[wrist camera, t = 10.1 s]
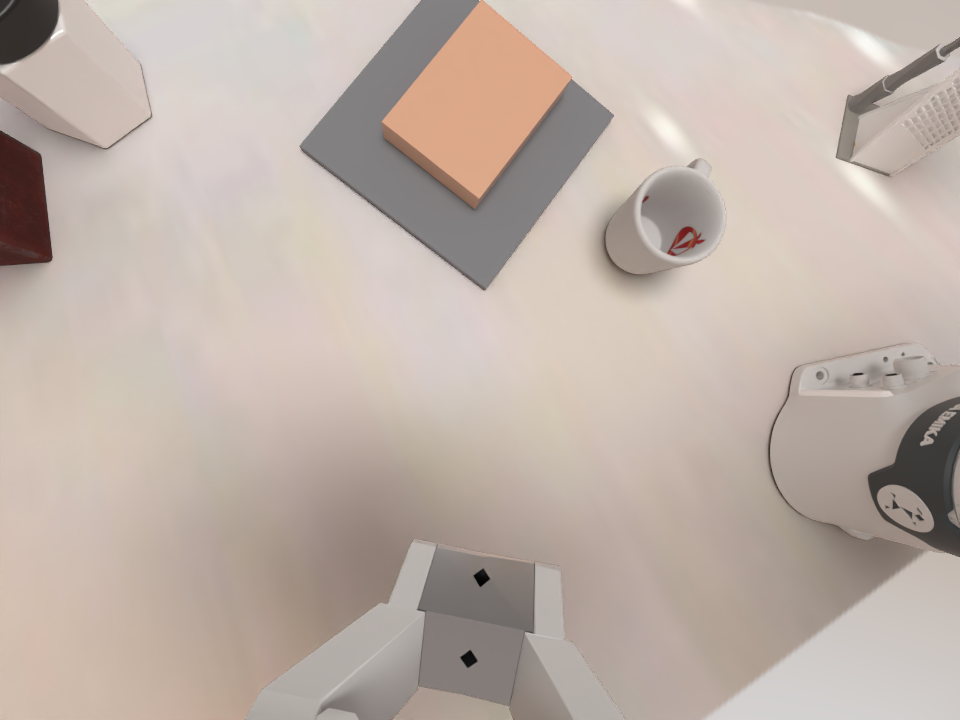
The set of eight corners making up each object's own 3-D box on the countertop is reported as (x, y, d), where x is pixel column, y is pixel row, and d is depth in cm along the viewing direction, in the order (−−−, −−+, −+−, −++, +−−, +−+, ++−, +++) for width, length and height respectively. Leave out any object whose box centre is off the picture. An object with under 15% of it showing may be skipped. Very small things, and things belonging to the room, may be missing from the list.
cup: (635, 163, 43) (685, 116, 35) (698, 210, 44) (761, 175, 36) (578, 252, 42) (617, 225, 34) (644, 299, 43) (696, 283, 35)
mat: (610, 120, 43) (614, 115, 42) (484, 290, 40) (485, 288, 40) (444, -21, 41) (445, -29, 40) (301, 150, 38) (299, 145, 38)
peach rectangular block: (474, 210, 40) (562, 95, 41) (479, 198, 37) (572, 76, 39) (384, 139, 39) (477, 24, 40) (381, 121, 36) (481, -1, 38)
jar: (104, 24, 36) (-46, -143, 25) (175, 102, 37) (63, -25, 25) (10, 89, 35) (-194, -54, 23) (86, 168, 36) (-76, 67, 24)
